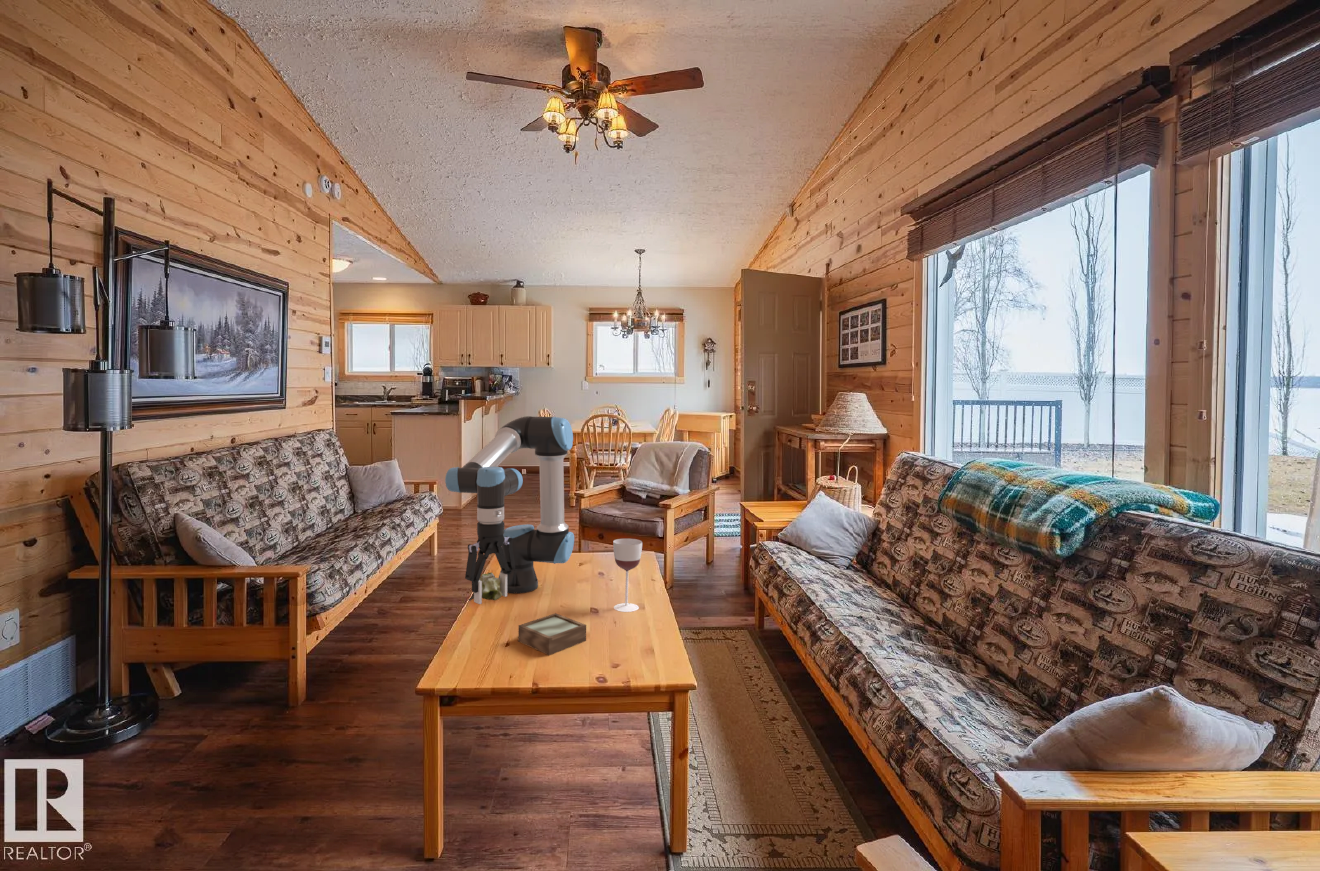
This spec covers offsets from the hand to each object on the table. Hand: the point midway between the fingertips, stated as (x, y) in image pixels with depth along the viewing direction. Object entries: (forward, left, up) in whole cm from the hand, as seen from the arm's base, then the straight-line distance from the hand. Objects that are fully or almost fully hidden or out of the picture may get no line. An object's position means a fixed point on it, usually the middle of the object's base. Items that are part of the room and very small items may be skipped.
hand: (490, 598), depth 175 cm
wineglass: (+7, +50, -14) cm, 52 cm away
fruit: (-2, 0, -1) cm, 2 cm away
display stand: (+11, +14, -13) cm, 22 cm away
